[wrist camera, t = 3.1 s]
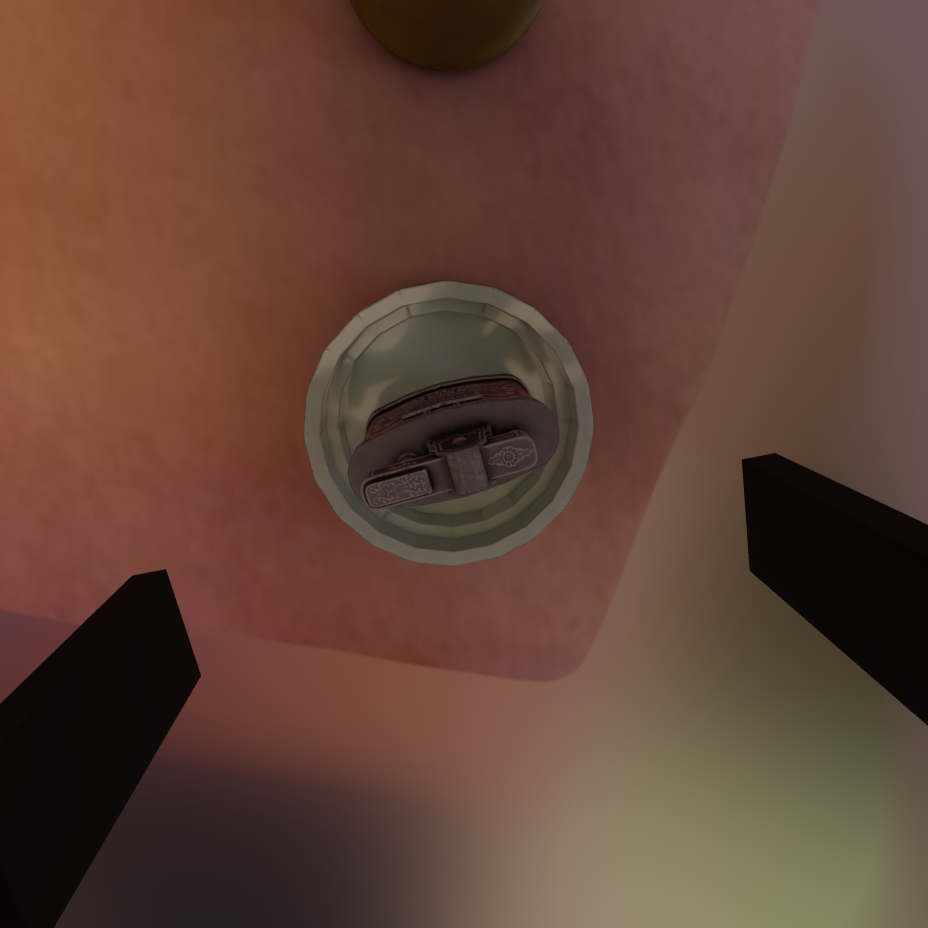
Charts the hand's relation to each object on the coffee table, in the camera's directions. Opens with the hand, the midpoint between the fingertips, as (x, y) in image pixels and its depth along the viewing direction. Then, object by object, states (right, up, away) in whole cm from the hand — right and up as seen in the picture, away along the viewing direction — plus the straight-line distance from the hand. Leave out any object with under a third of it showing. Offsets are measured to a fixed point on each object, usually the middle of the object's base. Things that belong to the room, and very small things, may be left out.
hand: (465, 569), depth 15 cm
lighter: (-1, +5, +17) cm, 18 cm away
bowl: (-1, +5, +17) cm, 18 cm away
